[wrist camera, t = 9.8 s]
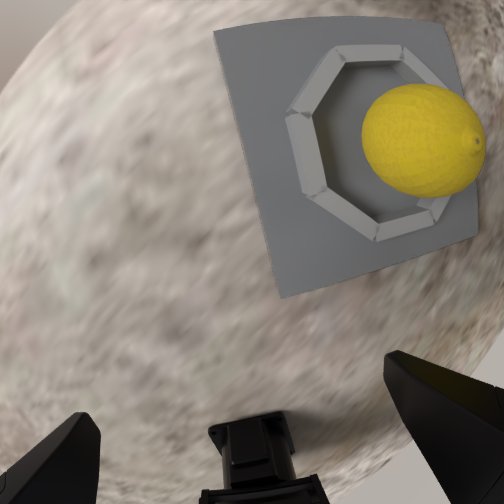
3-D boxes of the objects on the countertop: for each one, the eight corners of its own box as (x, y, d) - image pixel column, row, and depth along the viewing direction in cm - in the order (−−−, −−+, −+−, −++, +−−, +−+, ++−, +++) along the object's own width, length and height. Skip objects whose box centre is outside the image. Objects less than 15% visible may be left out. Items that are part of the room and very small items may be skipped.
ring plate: (468, 230, 20) (491, 239, 18) (277, 290, 20) (286, 310, 17) (433, 27, 15) (454, 18, 13) (213, 38, 15) (212, 20, 12)
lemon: (417, 103, 16) (512, 92, 8) (415, 189, 17) (510, 215, 10) (338, 89, 15) (421, 53, 8) (337, 185, 17) (422, 211, 9)
